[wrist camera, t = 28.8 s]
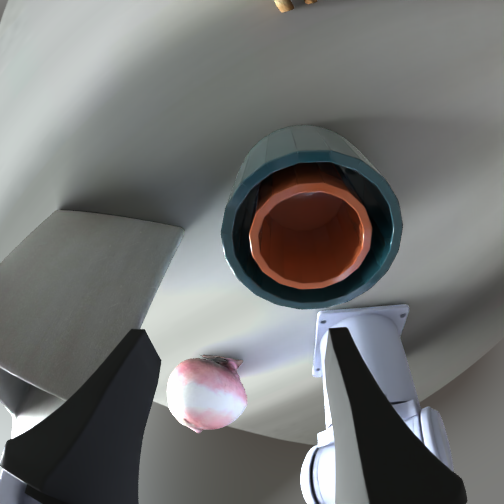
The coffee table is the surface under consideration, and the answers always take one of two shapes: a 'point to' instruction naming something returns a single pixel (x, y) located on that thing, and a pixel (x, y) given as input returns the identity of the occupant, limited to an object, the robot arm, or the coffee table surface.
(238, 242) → the base cup
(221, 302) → the coffee table surface
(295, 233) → the cup
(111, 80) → the coffee table surface
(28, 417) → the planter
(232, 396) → the onion
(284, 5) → the figurine
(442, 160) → the coffee table surface
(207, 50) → the coffee table surface
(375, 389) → the robot arm
